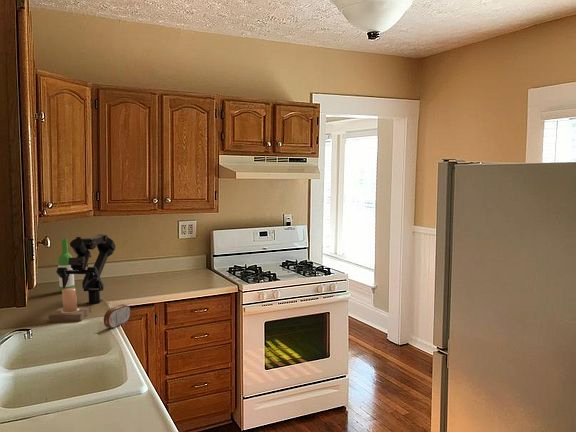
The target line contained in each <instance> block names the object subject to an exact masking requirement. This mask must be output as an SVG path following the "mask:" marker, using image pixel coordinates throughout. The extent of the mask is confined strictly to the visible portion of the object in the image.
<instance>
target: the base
mask: <svg viewBox="0 0 576 432" xmlns="http://www.w3.org/2000/svg"><path fill="white" fill-rule="evenodd" d="M91 307H92V306H90V305H89V306H77V311H74V312H63V306H62V307H58V308H57V309H56V310H55V311H54V312H52V313H50V314H49V315H48V316H47V318H48V323H69V322H82V321H83V320H84V319H85V318H87V317H88V316H89V315H90V314H91V313H92V308H91Z"/></svg>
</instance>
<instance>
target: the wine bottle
mask: <svg viewBox="0 0 576 432" xmlns="http://www.w3.org/2000/svg"><path fill="white" fill-rule="evenodd" d="M68 247H69V246H68V238H62V239H61V254H60V255H59V256H58V258H57V266H58V267H57V268H59V267H66V268H67V269H68V270H72V268H71V265H68V261H69V258H74V257H73V255H71V253H69V248H68ZM68 278H69V279H68V282H67V284H66V286H65V288H76V287H75V274H70V275H69V277H68ZM58 282H59V291H61V292H60V293H62V289H65V288H63V283H62V278H60V277H59V276H58Z"/></svg>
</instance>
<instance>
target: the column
mask: <svg viewBox="0 0 576 432" xmlns="http://www.w3.org/2000/svg"><path fill="white" fill-rule="evenodd" d="M77 295H78V294H77V287H75V288H65V289H62V292H61V296H62V297H61V298H62V307H63V312H74V311H77V307H78V298H77Z"/></svg>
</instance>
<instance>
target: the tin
mask: <svg viewBox="0 0 576 432" xmlns="http://www.w3.org/2000/svg"><path fill="white" fill-rule="evenodd" d="M131 313H132V312H131V307H130V306H129V305H127V304H120V305H116V306H113V307H110V308H108V309H107V311H106V312H105V313H104V314H103V315H104V316H103V324H104V326H105V327H106V329H108V328H109V329H115V328H117V327H120V326H122V325H124V324H126V323H128V322H129V321H130V318H131Z"/></svg>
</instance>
